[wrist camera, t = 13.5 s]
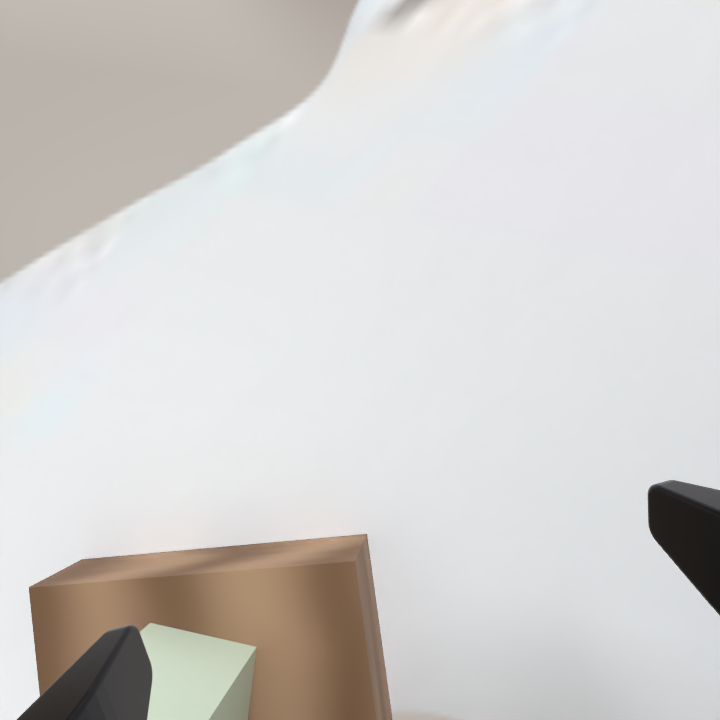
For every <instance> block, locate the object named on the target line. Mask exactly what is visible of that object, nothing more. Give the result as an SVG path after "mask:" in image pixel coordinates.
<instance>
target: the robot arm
mask: <svg viewBox="0 0 720 720" xmlns="http://www.w3.org/2000/svg"><path fill="white" fill-rule="evenodd" d="M648 522H649V528H650V531H651V534H652V536H653V537H654V539H655V540H656V542H657V543H658V544H659V545H660V546H661V547H662V549H663V550H664V551H665V552H666V553H667V554H668V556H669V557H670V558H671V559H672V560H673V561H674V563H675V564H676V565H677V566H678V567H679V569H680V570H681V571H682V572H683V573H684V574H685V576H686V577H687V578H688V579H689V580H690V581H691V583H692V584H693V585H694V586H695V587H696V589H697V590H698V591H699V592H700V593H701V594H702V596H703V597H704V598H705V599H706V600H707V601H708V603H709V604H710V605H711V606H712V607H713V608H714V609H715V610H716V612H717V613H718V614H719V615H720V490H716V489H712V488H707V487H703V486H698V485H693V484H689V483H684V482H680V481H675V480H669V481H665V482H662V483H658V484H654V485H652V486H651V487H650V488H649V490H648ZM152 675H153V674H152V666H151V662H150V659H149V657H148V654H147V651H146V648H145V646H144V643H143V640H142V637H141V635H140V632H139V630H138V628H137V627H136V626H135V625H132V624H130V625H126V626H122V627H118V628H115V629H111V630H108V631H107V632H105V633H104V634H103V635H102V636H101V637H100V638H99V639H98V640H97V641H96V642H95V643H94V644H93V645H92V646H91V647H90V648H89V649H88V650H87V651H86V652H85V653H84V654H83V655H82V656H81V657H80V658H79V659H78V660H77V661H75V662H74V663H73V664H72V665H71V666H70V667H69V668H68V669H67V670H66V671H65V672H64V673H63V674H62V675H61V676H60V677H59V678H58V679H57V680H56V681H55V682H54V683H53V684H52V685H51V686H50V687H49V688H48V689H47V690H46V691H45V692H44V693H43V694H42V695H41V696H40V697H39V698H38V699H37V700H36V701H35V702H34V703H33V704H32V705H31V706H30V707H29V708H28V709H27V710H26V711H25V712H24V713H23V714H22V715H21V716H20V717H19V718H18V719H17V720H147V717H148V709H149V702H150V695H151V687H152Z"/></svg>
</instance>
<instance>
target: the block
mask: <svg viewBox="0 0 720 720" xmlns="http://www.w3.org/2000/svg"><path fill="white" fill-rule="evenodd" d="M140 635H141V637H142V640H143V643H144V646H145V648H146V651H147V654H148V657H149V659H150V662H151V666H152V674H153V675H152V687H151V695H150V702H149V709H148V717H147V720H248V714H249V705H250V697H251V689H252V681H253V672H254V664H255V656H256V648H257V647H255V646H250V645H246V644H242V643H237V642H233V641H228V640H224V639H220V638H215V637H211V636H206V635H202V634H198V633H193V632H189V631H184V630H180V629H176V628H171V627H167V626H162V625H158V624H154V623H149V624H148V625H147V626H146V627H145V628H144V629H142V630H141V631H140Z"/></svg>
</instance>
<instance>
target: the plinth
mask: <svg viewBox="0 0 720 720" xmlns="http://www.w3.org/2000/svg"><path fill="white" fill-rule="evenodd" d="M29 593H30V603H31V613H32V622H33V632H34V642H35V652H36V661H37V671H38V681H39V691H40V696H41V695H42V694H43V693H44V692H45V691H46V690H47V689H48V688H49V687H50V686H51V685H52V684H53V683H54V682H55V681H56V680H57V679H58V678H59V677H60V676H61V675H62V674H63V673H64V672H65V671H66V670H67V669H68V668H69V667H70V666H71V665H72V664H73V663H74V662H75V661H77V660H78V659H79V658H80V657H81V656H82V655H83V654H84V653H85V652H86V651H87V650H88V649H89V648H90V647H91V646H92V645H93V644H94V643H95V642H96V641H97V640H98V639H99V638H100V637H101V636H102V635H103V634H104V633H105V632H107V631H108V630H111V629H115V628H118V627H122V626H126V625H130V624H132V625H135V626H136V627H137V628H138V630H139V632H140V631H141V630H142V629H144V628H145V627H146V626H147V625H148V624H149V623H154V624H158V625H162V626H167V627H171V628H176V629H180V630H184V631H189V632H193V633H198V634H202V635H206V636H211V637H215V638H220V639H224V640H228V641H233V642H237V643H242V644H246V645H250V646H255V647H257V648H256V656H255V664H254V672H253V681H252V689H251V697H250V705H249V714H248V720H392V714H391V707H390V699H389V692H388V685H387V678H386V670H385V663H384V656H383V649H382V641H381V634H380V627H379V620H378V612H377V605H376V598H375V591H374V583H373V576H372V569H371V562H370V554H369V547H368V540H367V534H363V535H352V536H341V537H329V538H318V539H307V540H296V541H285V542H273V543H262V544H251V545H240V546H229V547H217V548H206V549H195V550H184V551H173V552H161V553H150V554H139V555H128V556H117V557H106V558H94V559H83V560H80V561H78V562H76V563H74V564H73V565H71V566H69V567H67V568H65V569H63V570H61V571H59V572H57V573H55V574H54V575H52V576H50V577H48V578H46V579H44V580H42V581H40V582H38V583H36V584H35V585H33V586H31V587H29Z"/></svg>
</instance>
